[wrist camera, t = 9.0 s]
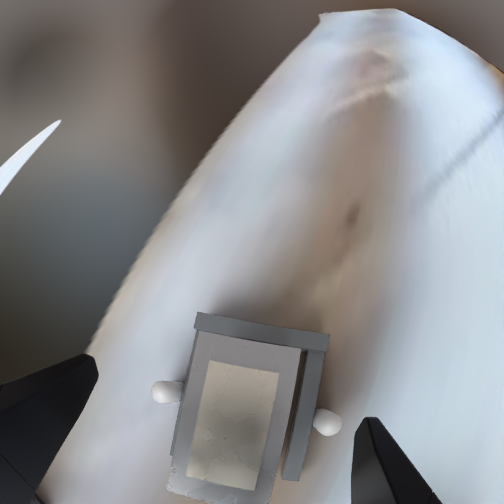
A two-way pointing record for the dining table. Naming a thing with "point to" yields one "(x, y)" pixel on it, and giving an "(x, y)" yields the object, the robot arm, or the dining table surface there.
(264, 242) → the dining table surface
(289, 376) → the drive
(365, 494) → the robot arm
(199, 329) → the dock
